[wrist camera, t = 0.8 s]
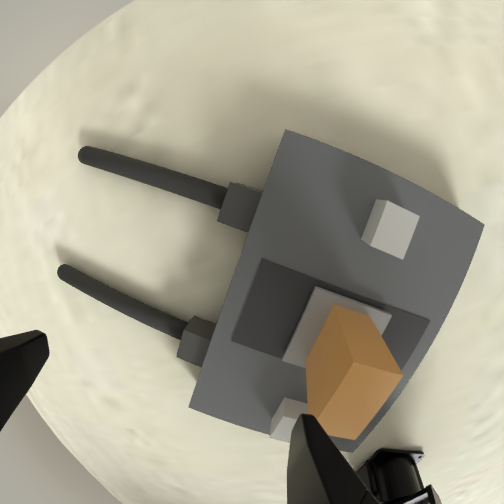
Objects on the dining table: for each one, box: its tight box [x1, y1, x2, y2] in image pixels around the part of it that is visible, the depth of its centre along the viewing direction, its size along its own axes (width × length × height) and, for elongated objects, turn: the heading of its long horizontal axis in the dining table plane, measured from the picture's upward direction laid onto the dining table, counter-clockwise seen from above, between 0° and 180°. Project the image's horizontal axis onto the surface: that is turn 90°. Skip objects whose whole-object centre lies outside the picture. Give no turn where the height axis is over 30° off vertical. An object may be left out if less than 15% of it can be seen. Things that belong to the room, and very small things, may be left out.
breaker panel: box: [176, 129, 484, 452], centre depth 17 cm, size 16×20×5 cm
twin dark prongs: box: [57, 146, 228, 340], centre depth 20 cm, size 15×11×1 cm
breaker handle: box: [282, 286, 403, 440], centre depth 13 cm, size 5×5×6 cm
